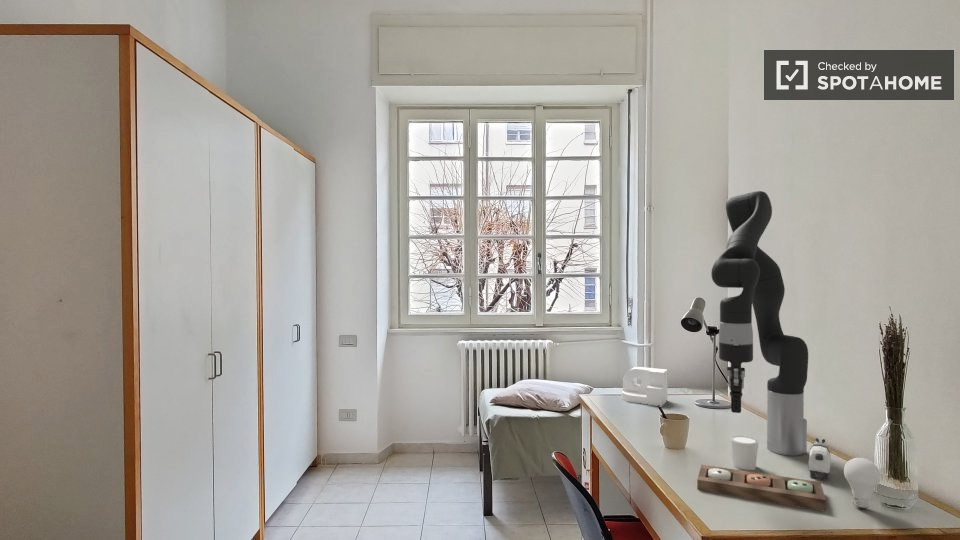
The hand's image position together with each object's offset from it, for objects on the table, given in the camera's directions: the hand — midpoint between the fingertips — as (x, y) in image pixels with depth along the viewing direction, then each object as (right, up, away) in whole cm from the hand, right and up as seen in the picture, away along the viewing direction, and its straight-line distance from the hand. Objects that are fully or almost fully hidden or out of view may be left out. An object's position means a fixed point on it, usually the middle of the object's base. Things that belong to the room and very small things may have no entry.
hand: (736, 411), depth 137 cm
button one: (-4, -17, -1) cm, 17 cm away
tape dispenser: (+1, -17, +80) cm, 82 cm away
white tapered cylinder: (+8, -18, +12) cm, 23 cm away
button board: (+3, -18, -4) cm, 18 cm away
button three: (+3, -17, -4) cm, 18 cm away
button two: (+11, -17, -8) cm, 22 cm away
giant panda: (+25, -18, +7) cm, 31 cm away
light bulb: (+21, -18, -14) cm, 31 cm away
